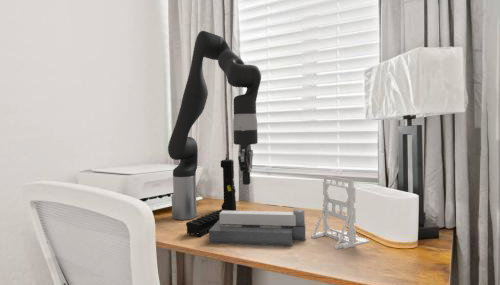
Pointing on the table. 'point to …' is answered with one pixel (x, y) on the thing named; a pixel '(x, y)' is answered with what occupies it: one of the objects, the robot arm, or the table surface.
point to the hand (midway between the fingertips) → (246, 184)
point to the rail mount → (203, 223)
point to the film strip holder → (340, 215)
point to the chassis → (255, 234)
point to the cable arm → (263, 218)
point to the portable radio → (228, 185)
